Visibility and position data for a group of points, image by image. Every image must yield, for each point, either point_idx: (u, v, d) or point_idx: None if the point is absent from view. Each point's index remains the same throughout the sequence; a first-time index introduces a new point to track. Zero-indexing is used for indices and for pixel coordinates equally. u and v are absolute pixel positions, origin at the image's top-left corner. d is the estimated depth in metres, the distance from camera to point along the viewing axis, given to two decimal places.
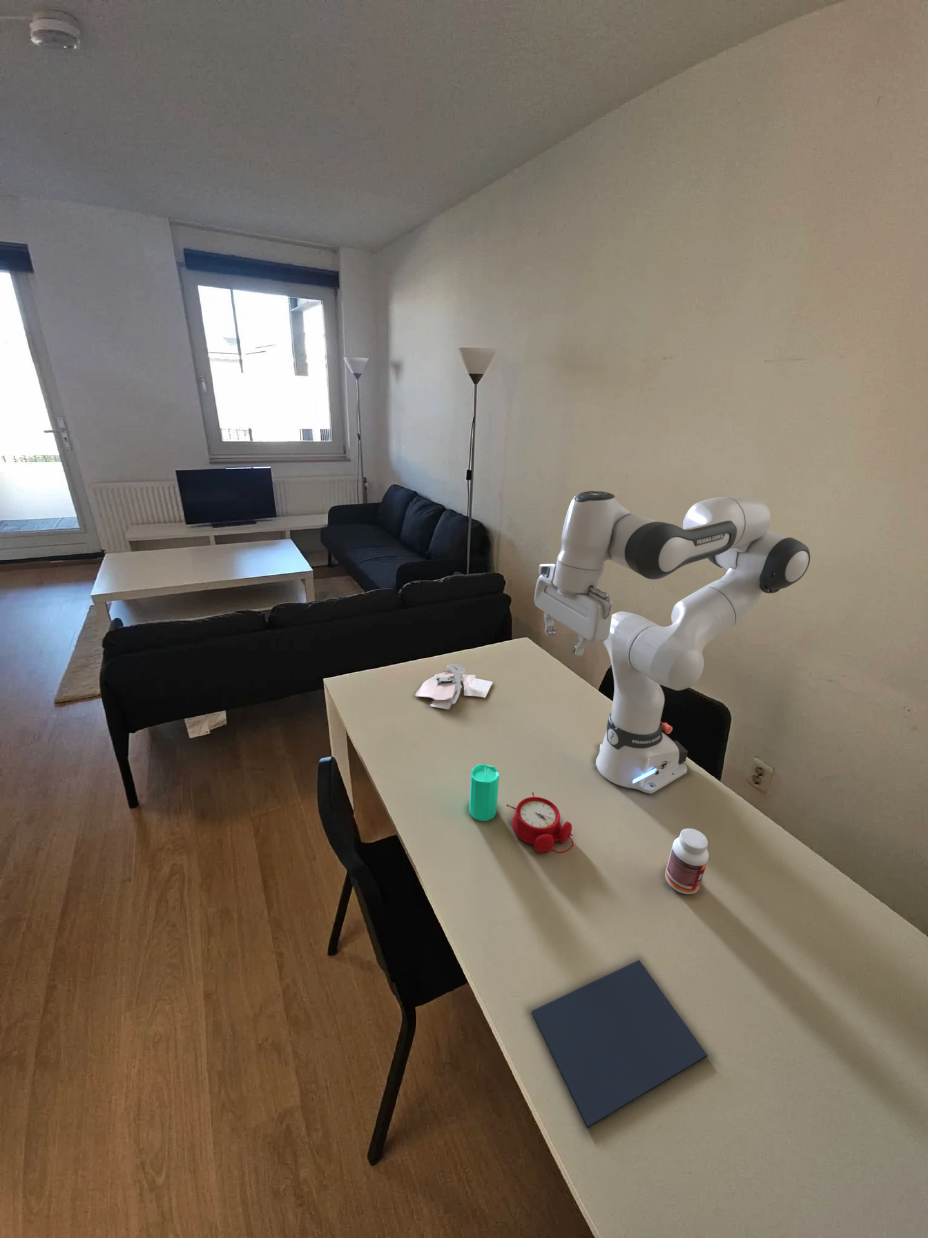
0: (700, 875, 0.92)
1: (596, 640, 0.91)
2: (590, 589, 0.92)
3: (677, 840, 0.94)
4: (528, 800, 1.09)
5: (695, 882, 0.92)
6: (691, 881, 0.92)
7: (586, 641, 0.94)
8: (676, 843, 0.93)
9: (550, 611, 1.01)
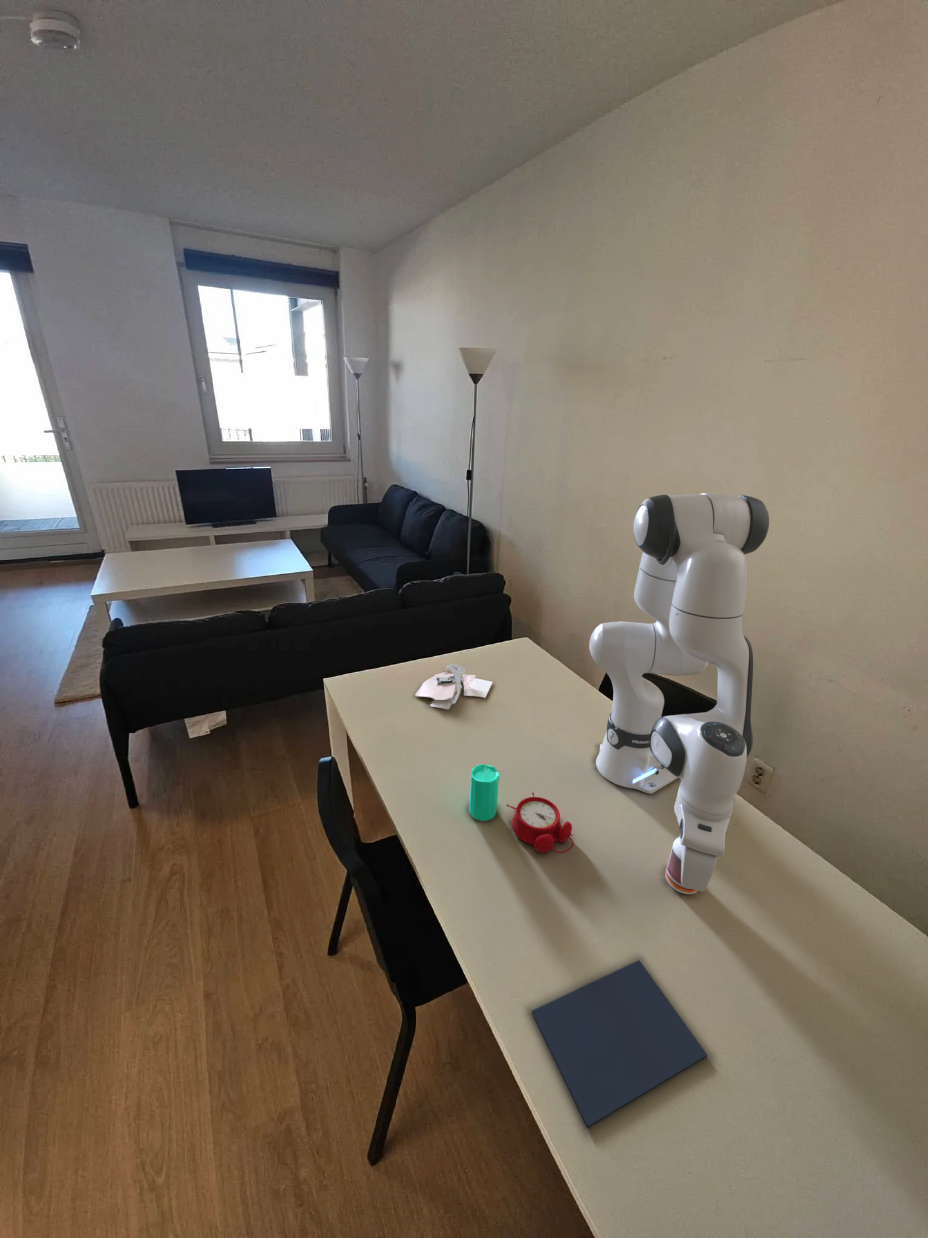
0: None
1: None
2: None
3: (677, 840, 0.94)
4: (528, 800, 1.09)
5: None
6: None
7: None
8: (676, 843, 0.93)
9: None
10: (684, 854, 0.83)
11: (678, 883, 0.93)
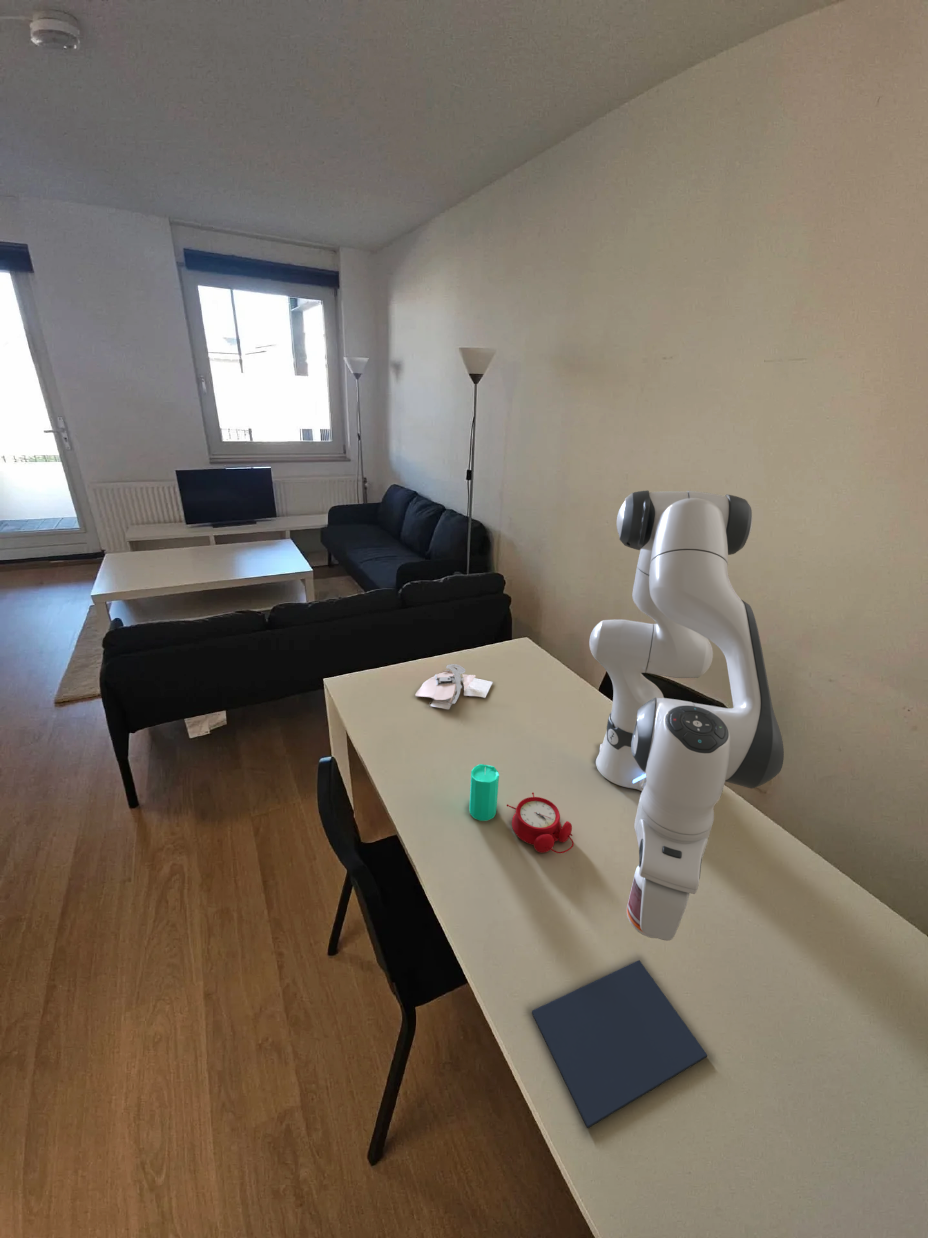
0: None
1: None
2: None
3: None
4: (528, 800, 1.09)
5: None
6: None
7: None
8: None
9: None
10: (643, 889, 0.60)
11: None
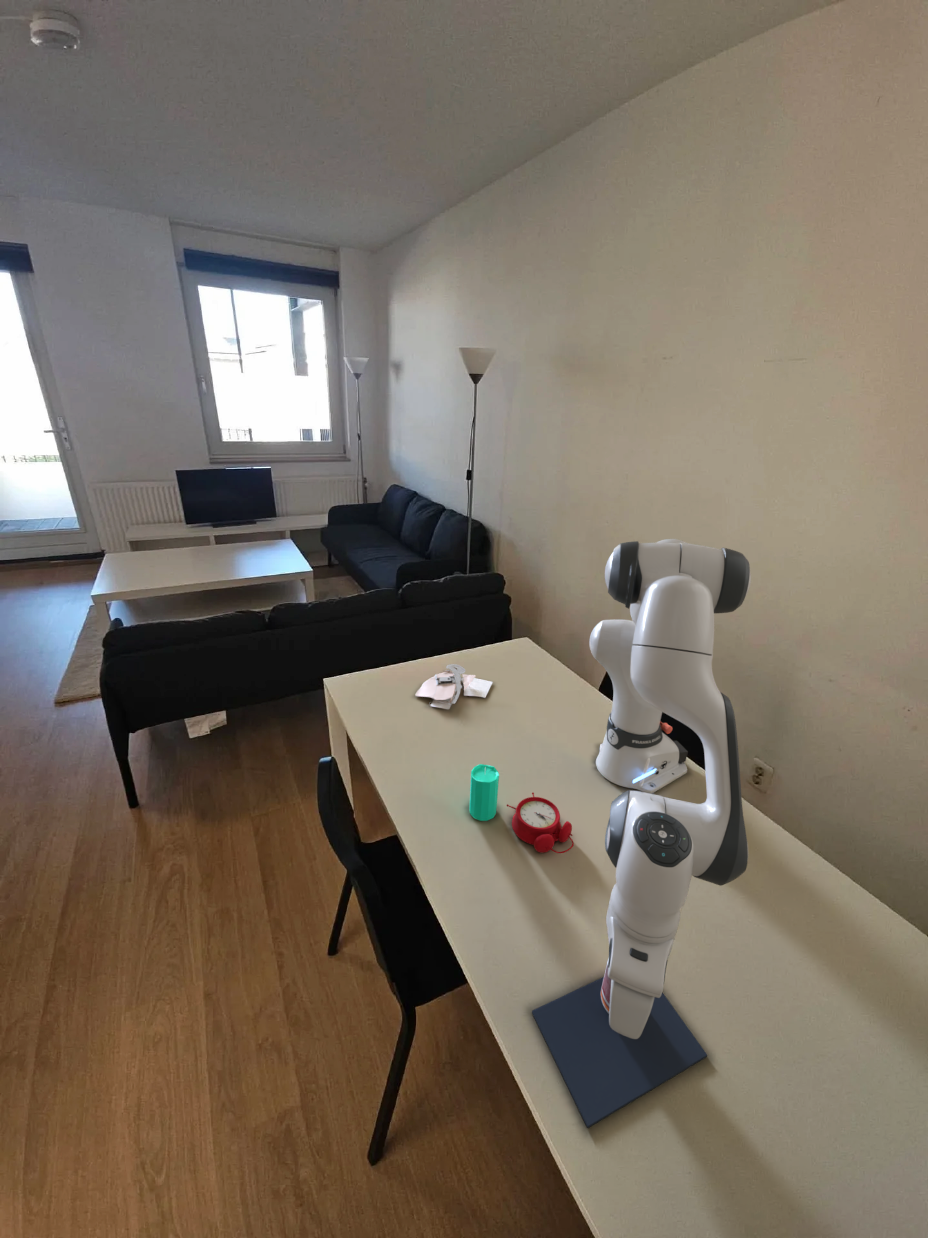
0: None
1: None
2: None
3: None
4: (528, 800, 1.09)
5: None
6: None
7: None
8: None
9: None
10: (611, 990, 0.63)
11: None
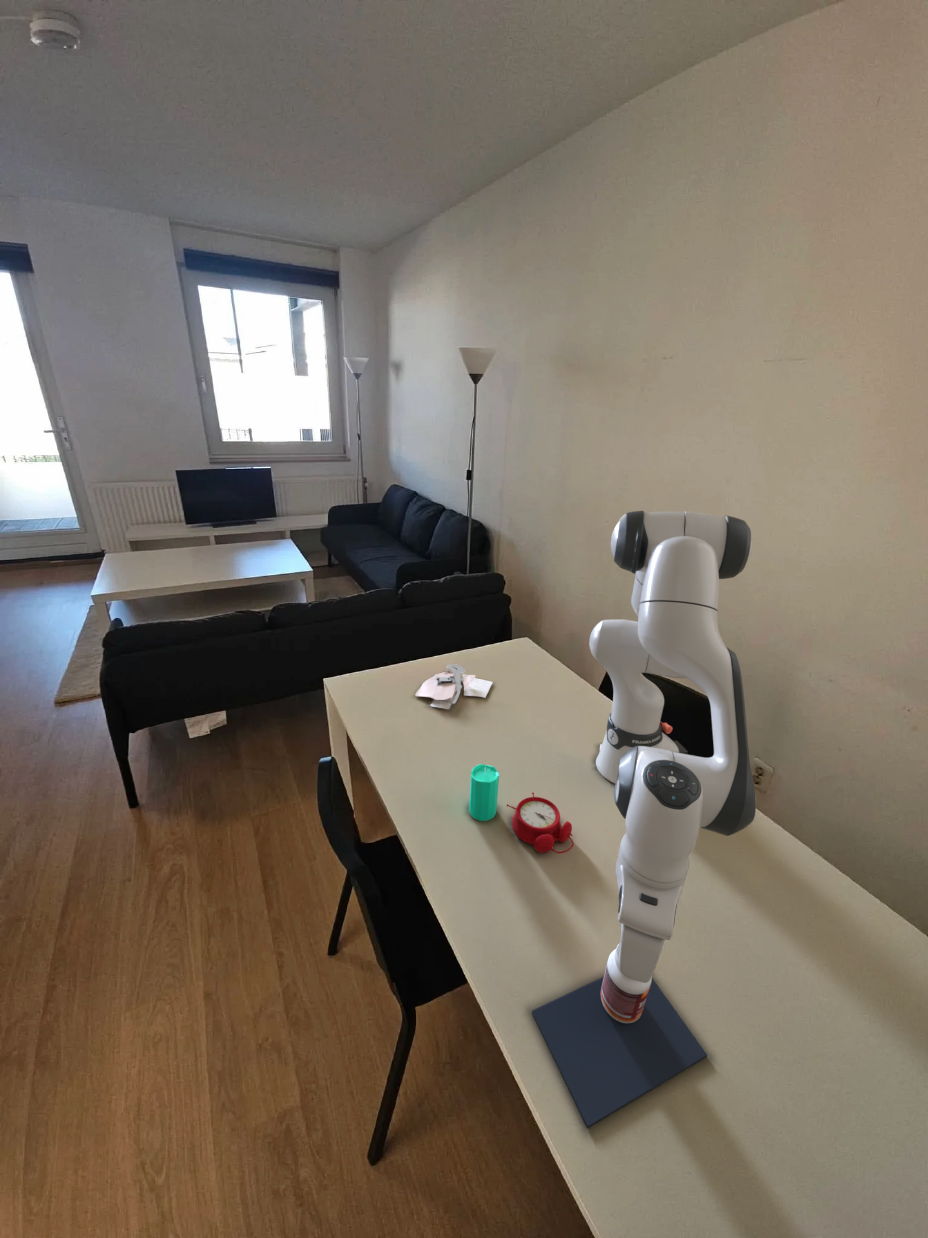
0: (641, 1003, 0.71)
1: None
2: None
3: (613, 955, 0.73)
4: (528, 800, 1.09)
5: (635, 1011, 0.72)
6: (630, 1010, 0.71)
7: None
8: (612, 960, 0.73)
9: None
10: (622, 934, 0.64)
11: (614, 1010, 0.73)
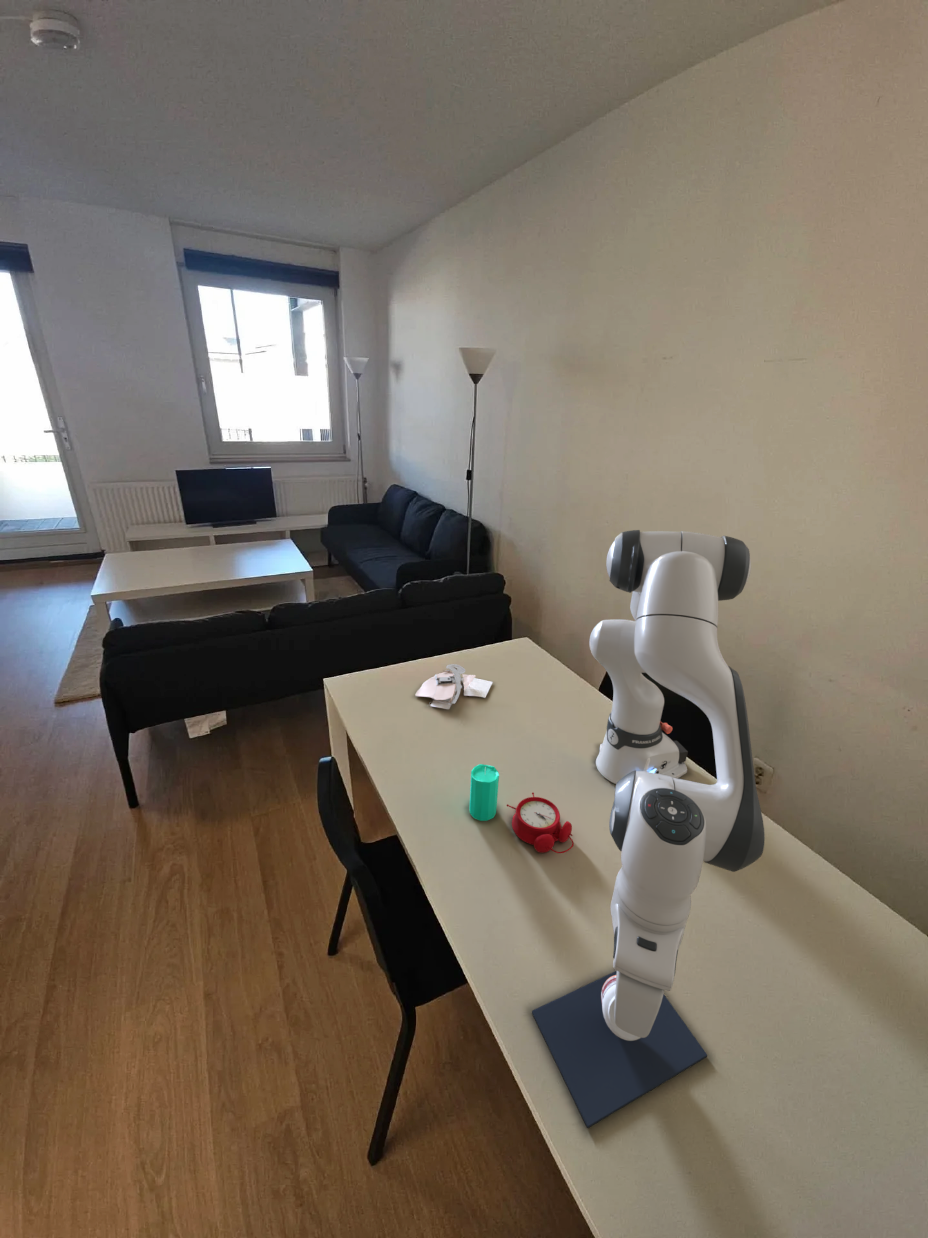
0: None
1: None
2: None
3: (608, 1000, 0.68)
4: (528, 800, 1.09)
5: None
6: None
7: None
8: (606, 1006, 0.68)
9: None
10: (617, 983, 0.58)
11: None
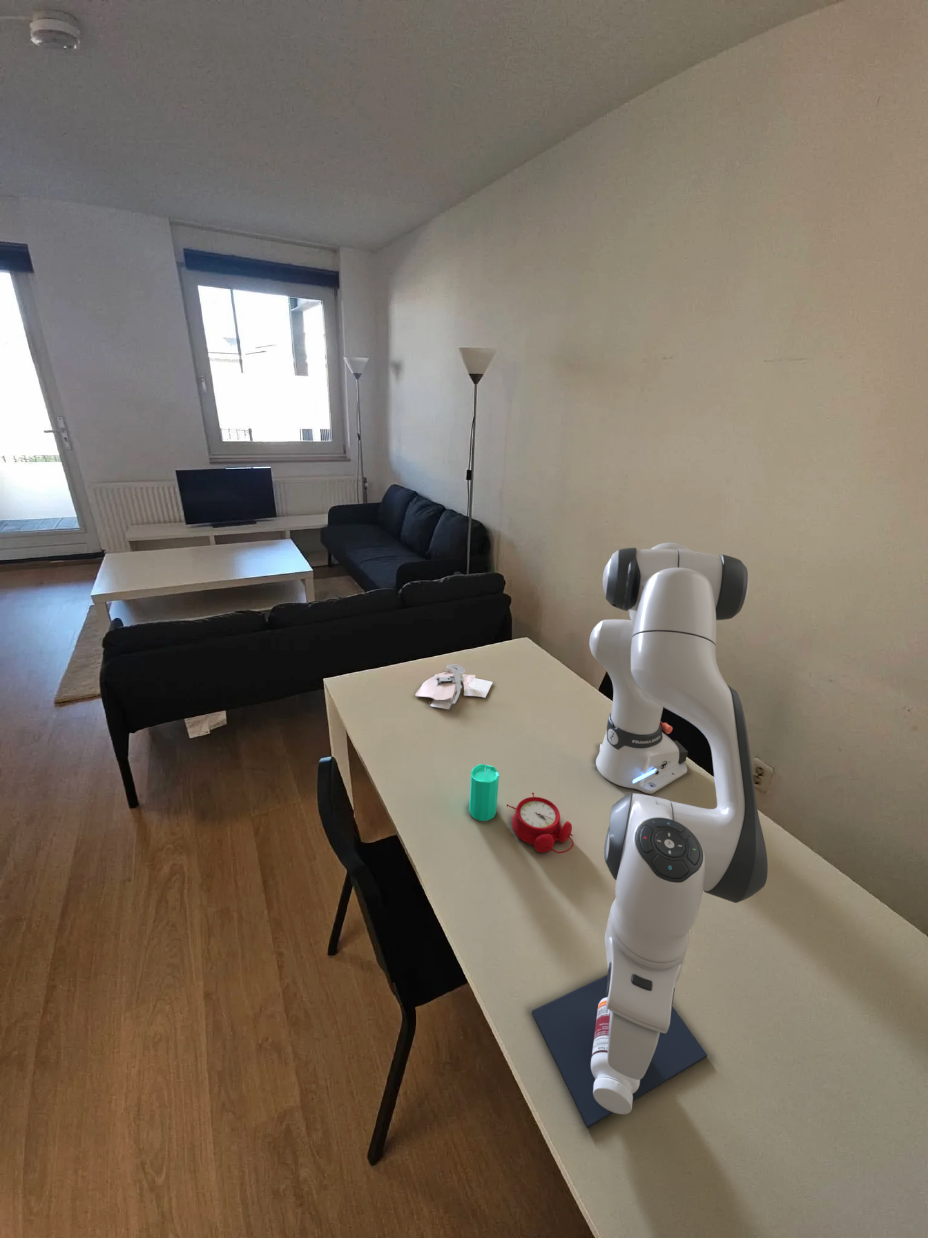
0: None
1: None
2: None
3: (594, 1070, 0.65)
4: (528, 800, 1.09)
5: None
6: None
7: None
8: (593, 1073, 0.66)
9: None
10: (610, 1023, 0.55)
11: None
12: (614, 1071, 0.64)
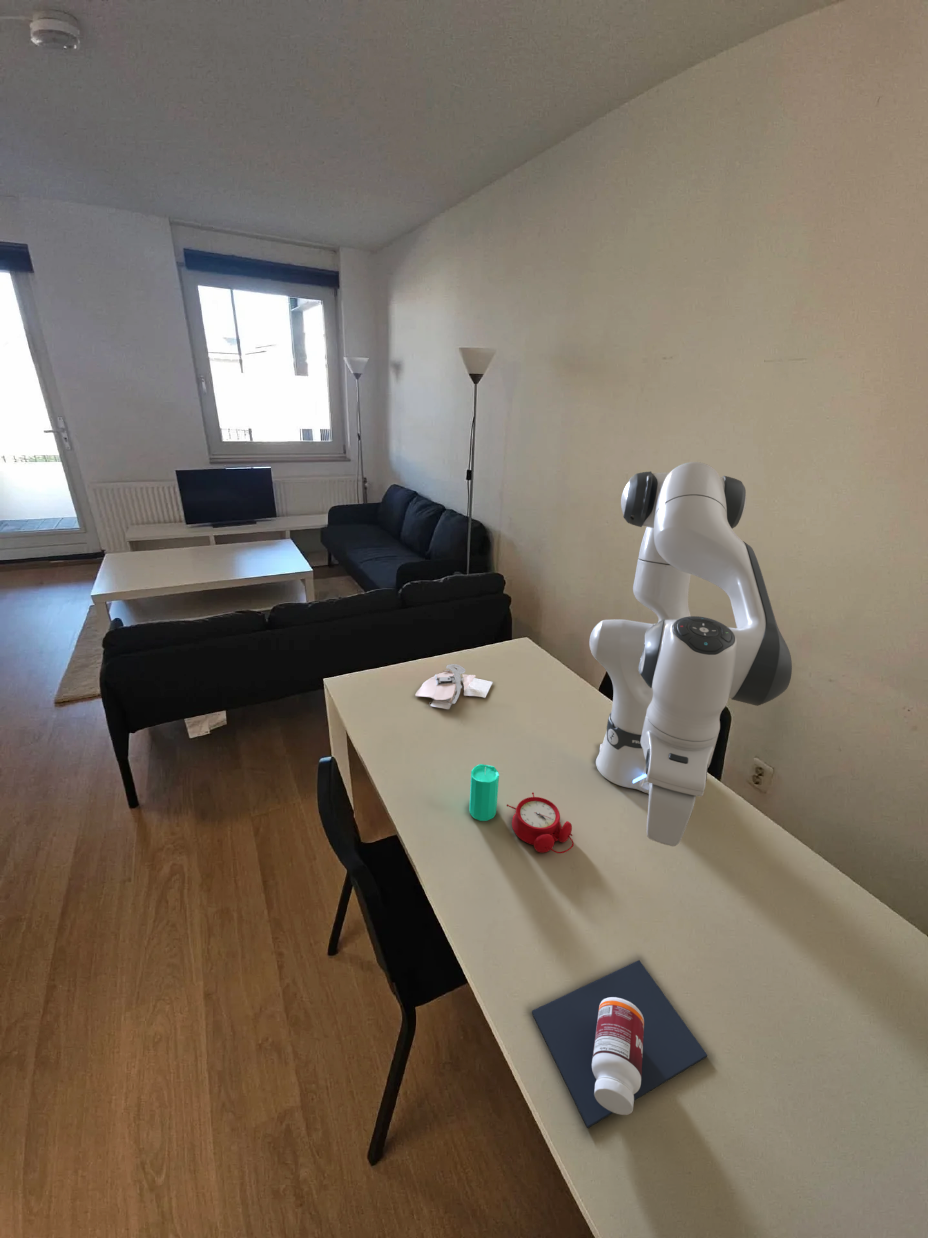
0: None
1: None
2: None
3: (596, 1070, 0.65)
4: (528, 800, 1.09)
5: None
6: None
7: None
8: (594, 1073, 0.65)
9: None
10: (650, 795, 0.61)
11: None
12: (616, 1072, 0.64)
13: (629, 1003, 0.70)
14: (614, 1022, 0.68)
